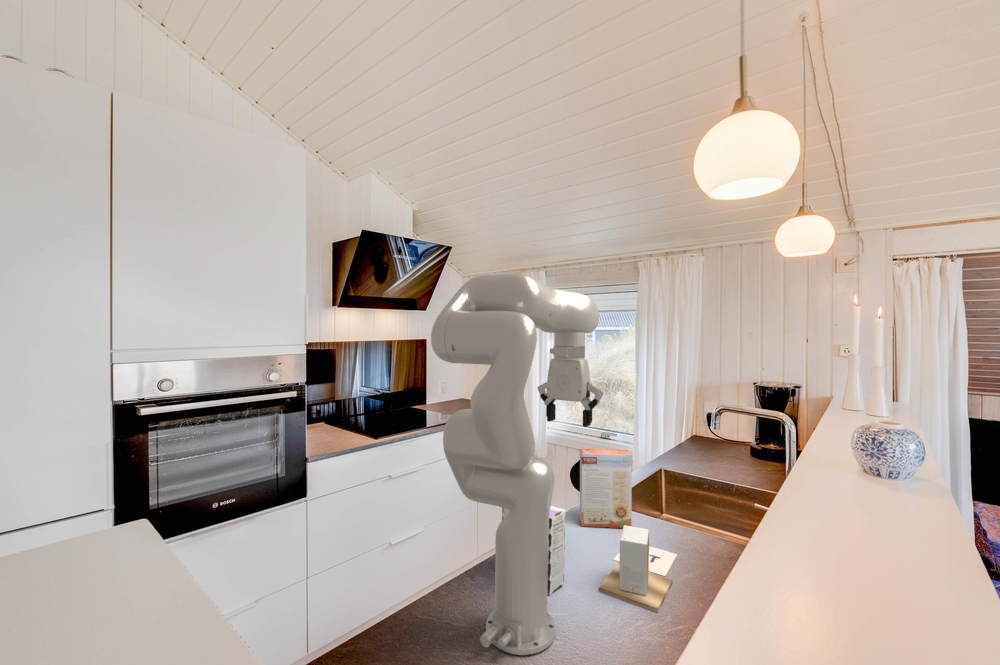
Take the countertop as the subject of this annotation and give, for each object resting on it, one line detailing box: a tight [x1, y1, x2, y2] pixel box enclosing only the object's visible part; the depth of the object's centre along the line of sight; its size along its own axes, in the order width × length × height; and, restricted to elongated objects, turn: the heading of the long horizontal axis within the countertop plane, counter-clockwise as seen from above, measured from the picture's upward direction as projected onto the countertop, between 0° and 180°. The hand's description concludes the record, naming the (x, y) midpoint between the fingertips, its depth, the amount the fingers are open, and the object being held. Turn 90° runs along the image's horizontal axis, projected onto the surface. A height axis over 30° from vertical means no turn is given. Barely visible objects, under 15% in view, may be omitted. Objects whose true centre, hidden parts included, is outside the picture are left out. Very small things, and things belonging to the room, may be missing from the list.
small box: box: [619, 525, 650, 595], centre depth 92 cm, size 8×6×10 cm
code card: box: [612, 545, 678, 577], centre depth 105 cm, size 12×12×1 cm
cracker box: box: [579, 448, 633, 529], centre depth 123 cm, size 14×6×21 cm, turn 84°
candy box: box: [501, 505, 567, 596], centre depth 95 cm, size 14×6×16 cm, turn 47°
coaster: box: [598, 562, 673, 613], centre depth 92 cm, size 12×12×1 cm
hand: (568, 423), depth 106 cm, fingers open, 9 cm apart
